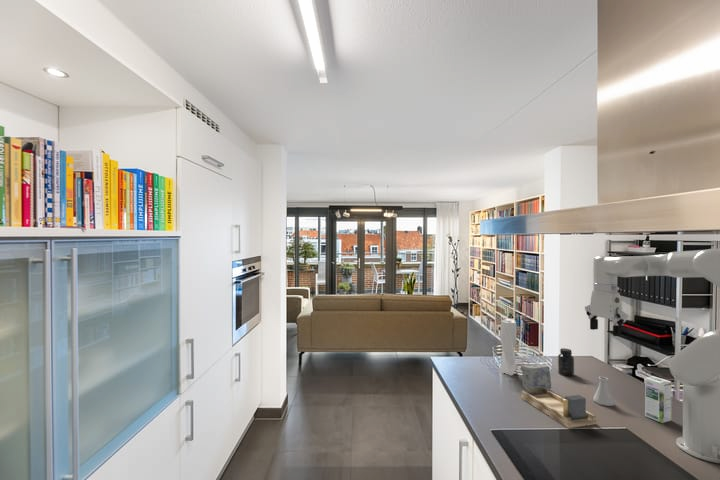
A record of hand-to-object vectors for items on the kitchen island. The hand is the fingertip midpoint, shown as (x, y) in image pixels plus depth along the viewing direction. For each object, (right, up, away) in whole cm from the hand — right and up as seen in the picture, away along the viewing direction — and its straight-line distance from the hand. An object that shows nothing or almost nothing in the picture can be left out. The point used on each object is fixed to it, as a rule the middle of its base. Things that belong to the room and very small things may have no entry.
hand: (605, 332), depth 134 cm
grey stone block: (-16, -31, +21) cm, 40 cm away
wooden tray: (-19, -30, +1) cm, 36 cm away
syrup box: (+16, -31, -6) cm, 35 cm away
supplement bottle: (+7, -31, +38) cm, 49 cm away
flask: (+4, -31, +7) cm, 32 cm away
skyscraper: (-21, -31, +39) cm, 54 cm away
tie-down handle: (-17, -29, -8) cm, 34 cm away
